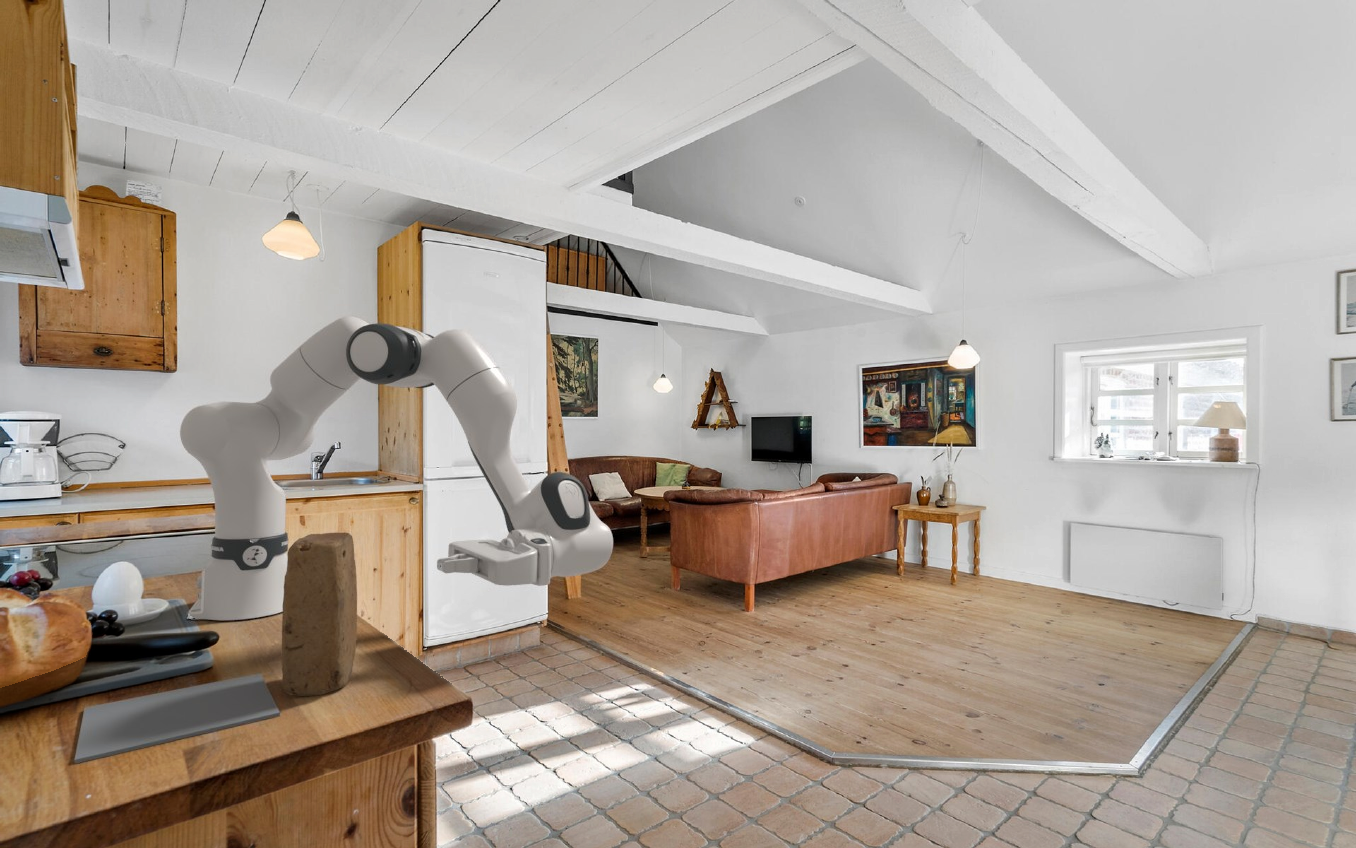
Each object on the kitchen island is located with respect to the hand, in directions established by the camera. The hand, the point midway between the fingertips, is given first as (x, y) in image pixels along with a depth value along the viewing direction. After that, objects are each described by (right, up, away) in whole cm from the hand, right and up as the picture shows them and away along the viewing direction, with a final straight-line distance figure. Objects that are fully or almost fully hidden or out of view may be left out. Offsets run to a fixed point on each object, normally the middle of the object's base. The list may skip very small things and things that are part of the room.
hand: (440, 566), depth 98 cm
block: (-12, -14, -10) cm, 21 cm away
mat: (-24, -13, -20) cm, 34 cm away
